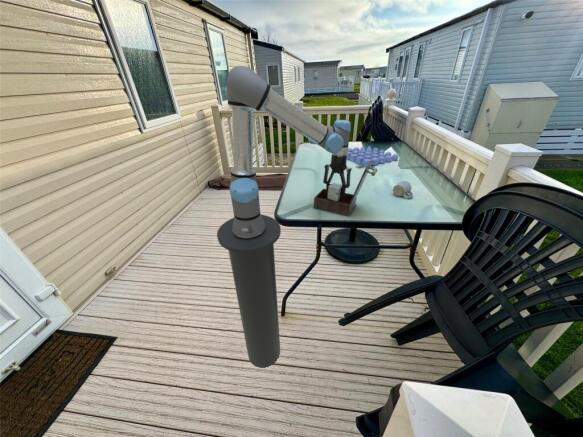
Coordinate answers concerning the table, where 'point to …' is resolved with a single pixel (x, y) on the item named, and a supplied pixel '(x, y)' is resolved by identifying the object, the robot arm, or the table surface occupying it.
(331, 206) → the brown wooden box
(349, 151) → the purple egg tray
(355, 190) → the lid
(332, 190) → the product carton
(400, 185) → the ceramic mug
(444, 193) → the table surface
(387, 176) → the table surface
